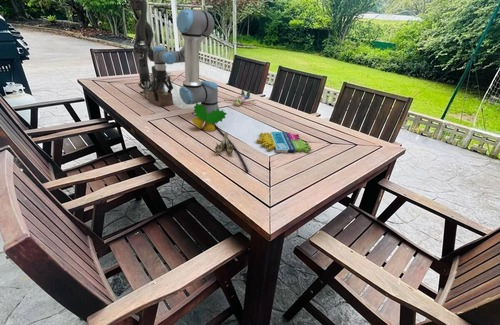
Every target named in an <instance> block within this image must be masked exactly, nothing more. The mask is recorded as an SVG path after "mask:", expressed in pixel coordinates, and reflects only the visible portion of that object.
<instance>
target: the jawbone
mask: <svg viewBox="0 0 500 325" xmlns="http://www.w3.org/2000/svg"><path fill="white" fill-rule="evenodd" d="M223 134H224V136H223V140H222V139H221V142H220V144H218V142H215V144H216V146H215V148H214V149H215V152H214V154H215V155H217V156H218V155H220V153H221V152H223V151H224V150H226V152H227V153H228V155H229V156H233V155H234V154H233V153H234V147H233V146H232V145H234V143H232V145H231V144H230V142H229V141H228V139H229V138H228V137H229V136H228V135H229V133H228V131H226V132H223Z"/></svg>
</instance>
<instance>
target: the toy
mask: <svg viewBox="0 0 500 325" xmlns="http://www.w3.org/2000/svg"><path fill="white" fill-rule="evenodd" d="M240 92H241V93H240V95H238V96H237V97H235V99H233V98H230V99H228V98H227V97H226V96H225V97H224V98H223V101H224V102H233V103H232V104H233V105H235V106H242V103H243V104H247V105H252V106H255V105H256V104H257V103H256V102H254V101H253V100H252V101H251V102H250V101H248V100H246V99H248V98H250V97H251V90H250V89H249V90H248V91H247V92H246V93H245V91H244V89H242V90H241V91H240Z"/></svg>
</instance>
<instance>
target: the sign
mask: <svg viewBox="0 0 500 325" xmlns="http://www.w3.org/2000/svg"><path fill="white" fill-rule="evenodd" d="M299 136H300V135H299V134H298V133H296V134H294V133H291V132H287V131H270V132H264V133H263V132H260V133H259V139H258V138H257V139H256V143H257V144H261V148H263V147H264V148H265V149H267V151H268V152H271V151H272V150H273V149H275V152H276V153H283V154H285V153H287V154H288V153H290V154H293V153H296V152H298V153H301V152H305V153H310V151H311V150H312V149H311V148H312V146H309V142H304V141H303V139H302V138H299Z"/></svg>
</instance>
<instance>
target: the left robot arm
mask: <svg viewBox="0 0 500 325" xmlns="http://www.w3.org/2000/svg"><path fill="white" fill-rule="evenodd" d="M128 2H129V5H130V6H129V7H130V8H131V10H132V13H133V16H134V18H135V21H136V24H135V27H134V35H135V37H134V38H135V39H134V44H133V48H132V50H133V52H134V54H135V55H141V56H142V57H138V58H137V65H138V75H139V79H140V80H139V82H138V83H137V86H138V87H139V88H141V90H142V91H143V90H147V89H151V86H152V82H151V81H150V79H151V78H152V77H153V78H156V75H155V70H156V69H155V65H152V66H151V73H152V76H150V75H151V74H149V73H150V67H149V62H148V61H150V62H153V63H154V56H153V47H152V43H153V40H154V31H153V28H152V26H151V24H150V22H148V21H147V14H148V2H147V0H128ZM142 42H143V43H144V44H141V43H142ZM156 82H157V80H156ZM158 83H159V82H158ZM155 85H156V83H155ZM159 89H160V90H163V91H166V90H165V89H166V85H165V84H164V83H160V85H159V87H158V89H157V90H159Z"/></svg>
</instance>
